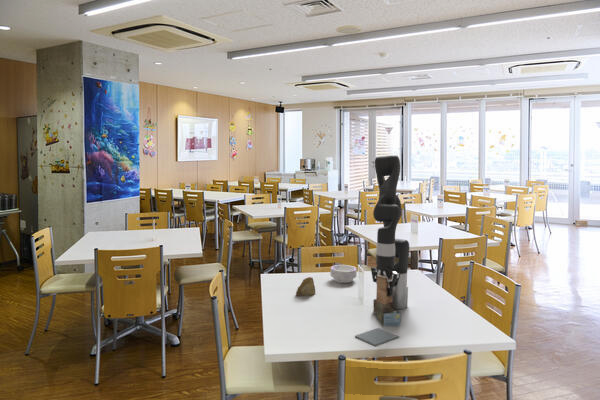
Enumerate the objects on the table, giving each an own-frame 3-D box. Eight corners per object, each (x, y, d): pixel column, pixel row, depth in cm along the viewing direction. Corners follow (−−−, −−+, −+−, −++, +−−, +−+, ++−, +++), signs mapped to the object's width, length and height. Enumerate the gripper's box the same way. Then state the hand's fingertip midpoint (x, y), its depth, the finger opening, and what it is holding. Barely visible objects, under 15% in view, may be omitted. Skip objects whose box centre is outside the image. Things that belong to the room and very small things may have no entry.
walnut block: (383, 299, 189) (384, 273, 188) (392, 301, 185) (393, 275, 184) (376, 301, 186) (377, 274, 185) (384, 304, 183) (385, 277, 181)
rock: (293, 293, 234) (312, 292, 232) (293, 277, 238) (312, 276, 237) (298, 300, 243) (316, 299, 241) (298, 285, 247) (316, 284, 246)
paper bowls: (357, 284, 258) (358, 271, 258) (331, 284, 259) (331, 270, 258) (355, 277, 274) (355, 264, 273) (329, 277, 274) (329, 264, 273)
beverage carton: (382, 326, 197) (383, 311, 196) (372, 311, 216) (372, 297, 215) (400, 326, 197) (401, 311, 197) (389, 311, 216) (389, 297, 216)
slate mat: (378, 329, 193) (378, 327, 193) (398, 337, 185) (398, 335, 185) (354, 337, 185) (354, 335, 185) (375, 346, 176) (375, 344, 176)
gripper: (405, 255, 180) (404, 297, 182) (378, 249, 192) (377, 289, 193) (393, 258, 176) (391, 301, 178) (366, 251, 187) (365, 292, 189)
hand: (384, 294), depth 185 cm, fingers closed on walnut block, 4 cm apart
